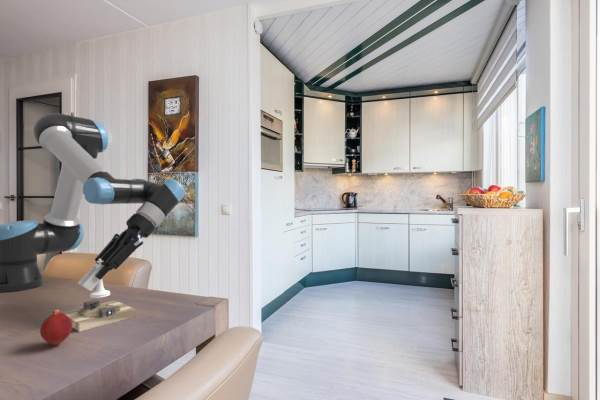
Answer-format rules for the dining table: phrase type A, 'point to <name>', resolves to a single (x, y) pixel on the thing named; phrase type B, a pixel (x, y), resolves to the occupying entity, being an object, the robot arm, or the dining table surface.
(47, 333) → the onion
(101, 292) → the chess piece
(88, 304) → the socket plate
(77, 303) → the dining table surface
